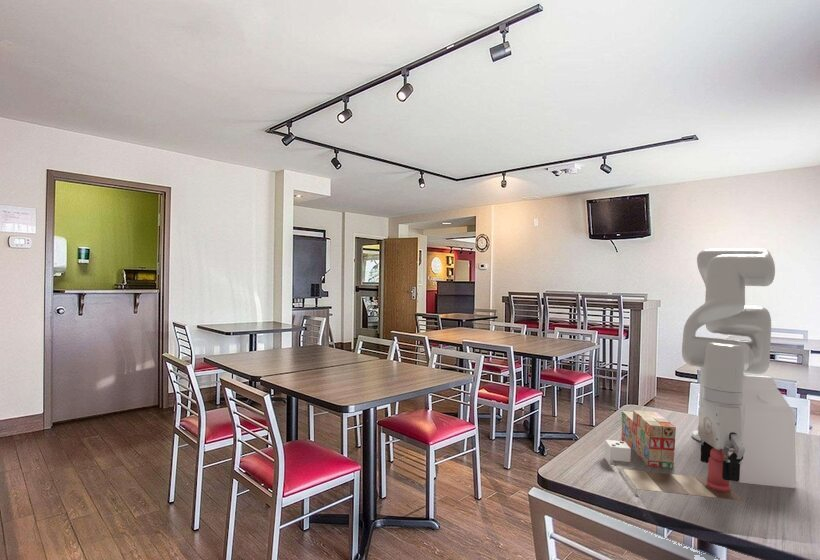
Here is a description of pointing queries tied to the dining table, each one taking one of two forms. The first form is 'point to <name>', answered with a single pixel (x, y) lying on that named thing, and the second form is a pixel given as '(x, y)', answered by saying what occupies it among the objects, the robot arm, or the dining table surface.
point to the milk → (767, 435)
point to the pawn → (717, 472)
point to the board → (673, 484)
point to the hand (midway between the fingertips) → (718, 470)
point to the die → (617, 451)
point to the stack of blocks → (649, 437)
